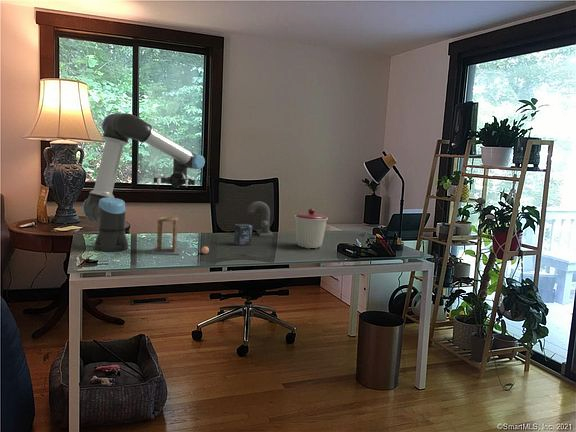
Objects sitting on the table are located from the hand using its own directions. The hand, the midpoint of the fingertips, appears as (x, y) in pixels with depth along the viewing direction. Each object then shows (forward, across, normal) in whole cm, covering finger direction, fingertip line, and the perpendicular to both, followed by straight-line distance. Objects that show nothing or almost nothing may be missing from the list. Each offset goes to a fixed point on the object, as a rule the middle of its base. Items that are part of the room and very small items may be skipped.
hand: (172, 182), depth 242 cm
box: (-15, -36, -32) cm, 51 cm away
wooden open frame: (+11, 0, -31) cm, 33 cm away
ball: (+12, -18, -32) cm, 39 cm away
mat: (+11, 0, -32) cm, 34 cm away
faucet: (-48, -46, -32) cm, 74 cm away
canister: (-16, -72, -32) cm, 81 cm away
